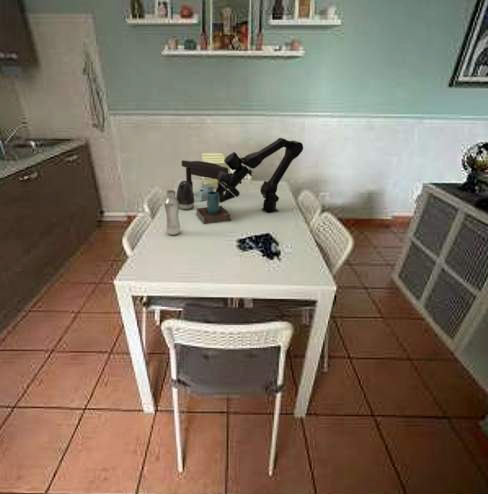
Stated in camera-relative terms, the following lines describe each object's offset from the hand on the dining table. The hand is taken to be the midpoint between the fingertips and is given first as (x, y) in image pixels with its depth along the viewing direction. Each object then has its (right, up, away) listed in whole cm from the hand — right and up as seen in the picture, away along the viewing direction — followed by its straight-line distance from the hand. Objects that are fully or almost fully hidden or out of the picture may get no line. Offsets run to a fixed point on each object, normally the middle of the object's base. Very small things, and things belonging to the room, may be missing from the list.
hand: (216, 199), depth 165 cm
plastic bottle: (-20, -19, -14) cm, 31 cm away
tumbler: (-2, -9, +4) cm, 10 cm away
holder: (-2, -9, +4) cm, 10 cm away
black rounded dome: (-18, -2, +16) cm, 24 cm away
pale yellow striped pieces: (-3, +20, +57) cm, 60 cm away
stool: (-8, +6, +31) cm, 33 cm away
